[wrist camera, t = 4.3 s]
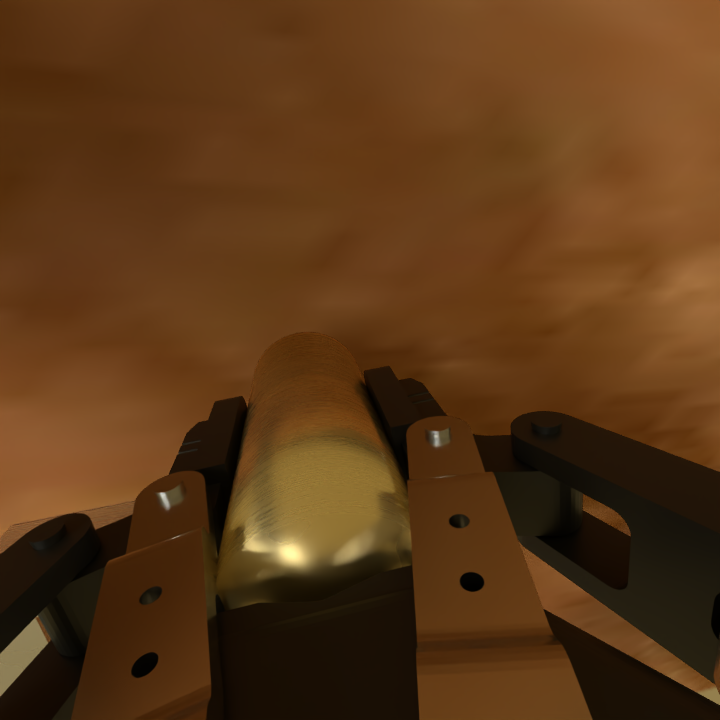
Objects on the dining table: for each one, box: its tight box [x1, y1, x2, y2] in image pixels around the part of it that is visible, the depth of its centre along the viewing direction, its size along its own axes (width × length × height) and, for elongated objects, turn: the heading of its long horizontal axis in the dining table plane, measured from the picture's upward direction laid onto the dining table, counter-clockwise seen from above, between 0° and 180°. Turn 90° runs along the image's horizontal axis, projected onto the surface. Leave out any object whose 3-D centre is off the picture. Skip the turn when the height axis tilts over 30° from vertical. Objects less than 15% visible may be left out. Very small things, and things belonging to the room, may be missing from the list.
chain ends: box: [0, 501, 135, 696], centre depth 18 cm, size 10×22×3 cm, turn 98°
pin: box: [216, 332, 412, 611], centre depth 11 cm, size 4×4×9 cm
